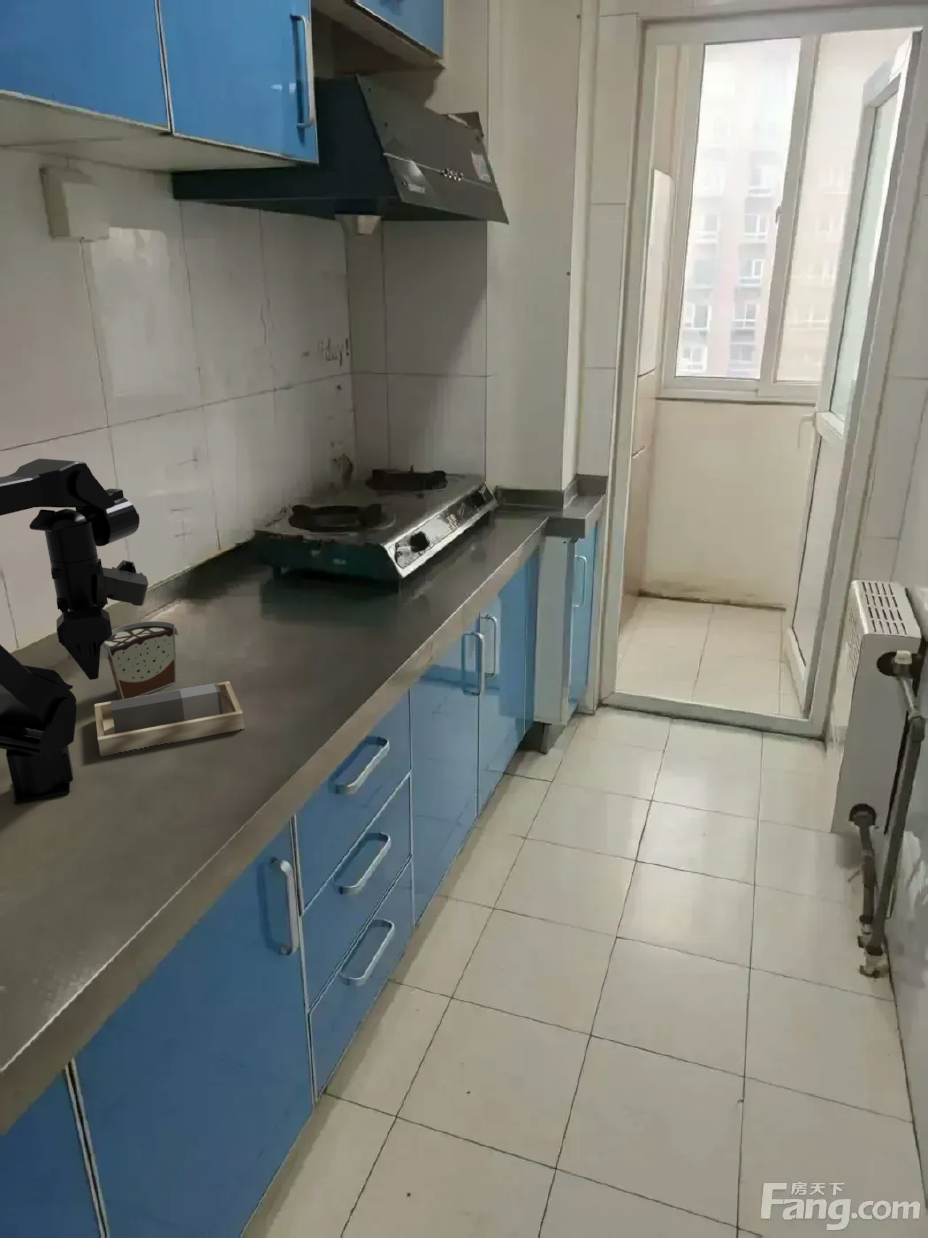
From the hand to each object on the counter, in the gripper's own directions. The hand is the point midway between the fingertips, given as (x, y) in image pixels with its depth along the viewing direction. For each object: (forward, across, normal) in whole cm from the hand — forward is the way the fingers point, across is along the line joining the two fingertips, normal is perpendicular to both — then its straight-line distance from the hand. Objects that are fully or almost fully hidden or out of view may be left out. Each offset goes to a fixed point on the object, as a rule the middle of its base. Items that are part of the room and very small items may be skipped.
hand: (92, 665), depth 117 cm
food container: (+12, +17, -6) cm, 22 cm away
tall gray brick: (+11, +2, -9) cm, 15 cm away
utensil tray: (+12, +2, -9) cm, 15 cm away
